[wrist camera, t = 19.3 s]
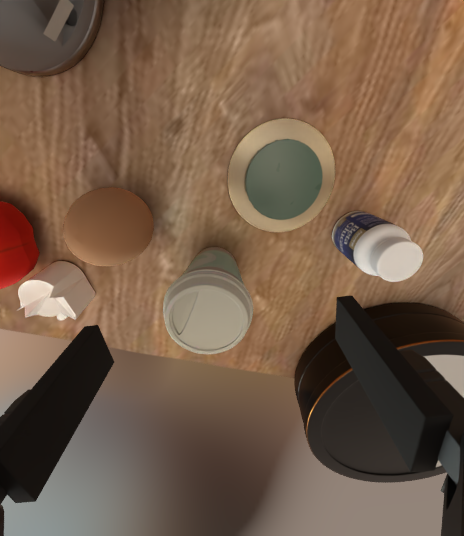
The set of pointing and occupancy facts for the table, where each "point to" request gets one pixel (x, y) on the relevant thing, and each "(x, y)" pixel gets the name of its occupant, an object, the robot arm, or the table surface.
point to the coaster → (258, 140)
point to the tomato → (15, 245)
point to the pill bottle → (377, 246)
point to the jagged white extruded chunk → (56, 292)
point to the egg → (108, 227)
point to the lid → (283, 179)
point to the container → (356, 400)
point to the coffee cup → (208, 304)
